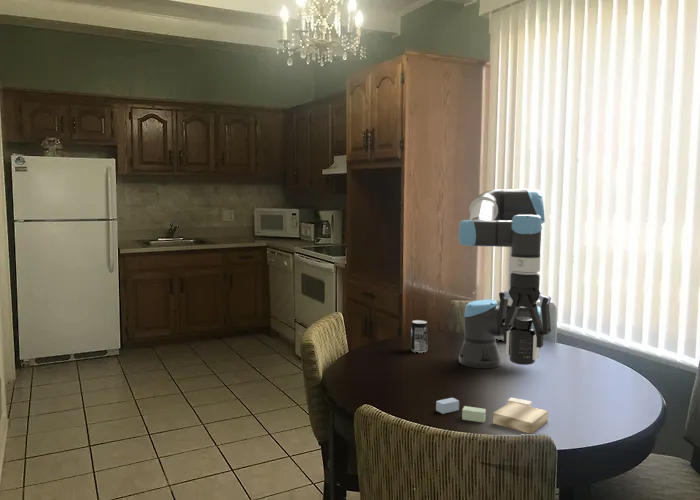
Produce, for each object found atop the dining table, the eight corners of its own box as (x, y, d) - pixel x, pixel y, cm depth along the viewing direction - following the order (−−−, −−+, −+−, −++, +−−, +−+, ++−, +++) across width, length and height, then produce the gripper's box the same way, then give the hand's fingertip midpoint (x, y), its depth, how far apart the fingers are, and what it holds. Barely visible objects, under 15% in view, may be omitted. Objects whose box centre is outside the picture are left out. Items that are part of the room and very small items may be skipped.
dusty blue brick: (442, 414, 164) (442, 404, 163) (436, 411, 166) (436, 401, 166) (458, 410, 166) (459, 400, 166) (452, 407, 169) (452, 397, 169)
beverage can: (415, 348, 234) (416, 319, 233) (430, 350, 230) (430, 321, 229) (407, 351, 228) (408, 322, 227) (422, 354, 225) (422, 324, 223)
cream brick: (507, 410, 167) (507, 400, 167) (510, 407, 169) (511, 397, 169) (528, 414, 164) (528, 404, 163) (531, 411, 166) (531, 401, 166)
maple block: (492, 423, 157) (493, 412, 156) (510, 411, 165) (510, 401, 165) (531, 434, 150) (532, 423, 149) (547, 421, 158) (548, 410, 158)
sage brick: (462, 420, 160) (462, 409, 159) (464, 416, 162) (464, 406, 162) (484, 423, 157) (484, 412, 157) (485, 419, 160) (485, 408, 160)
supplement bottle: (505, 358, 159) (506, 315, 158) (529, 357, 159) (530, 315, 158) (514, 365, 152) (515, 321, 151) (539, 365, 153) (541, 320, 151)
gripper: (484, 270, 157) (482, 352, 159) (556, 277, 144) (553, 366, 146) (497, 268, 163) (495, 347, 165) (567, 274, 150) (563, 359, 152)
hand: (522, 356), depth 156 cm, fingers closed on supplement bottle, 7 cm apart
